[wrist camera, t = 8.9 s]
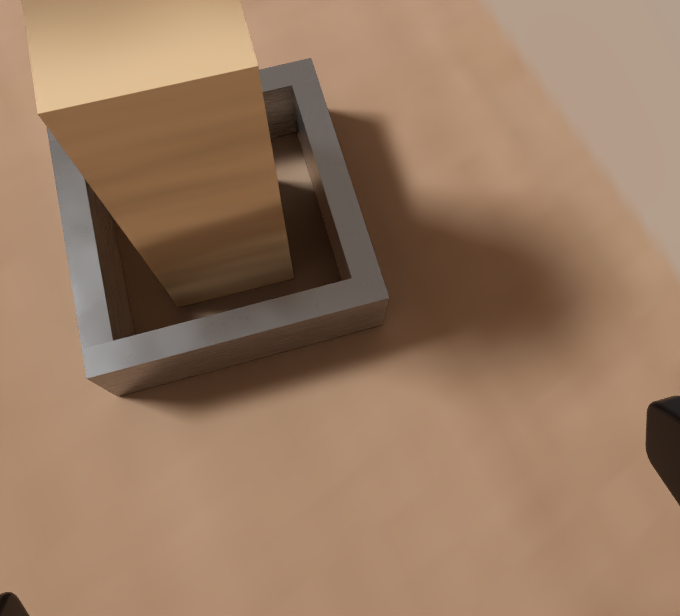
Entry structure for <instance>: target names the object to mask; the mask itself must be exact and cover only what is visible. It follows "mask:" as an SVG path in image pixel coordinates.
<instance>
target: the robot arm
mask: <svg viewBox="0 0 680 616" xmlns="http://www.w3.org/2000/svg"><path fill="white" fill-rule="evenodd" d="M646 452H647V455H648V458H649V460H650V462H651V464H652V466H653V467H654V469H655V470H656V472H657V473H658V474H659V476H660V477H661V479H662V480H663V482H664V483H665V485H666V486H667V488H668V489H669V491H670V492H671V494H672V495H673V497H674V498H675V499H676V501H677V502H678V504H679V505H680V396H671V397H668V398H665V399H661V400H658V401H654V402H652V403H651V404H650V405H649V407H648V409H647V421H646ZM0 616H29V614H28V613H27V611H26V609H25V608H24V606H23V605H22V603H21V601H20V600H19V598H18V597H17V596H16V595H15V594H13V593H11V592H5V593H2V594H0Z"/></svg>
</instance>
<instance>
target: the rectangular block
mask: <svg viewBox="0 0 680 616" xmlns="http://www.w3.org/2000/svg"><path fill="white" fill-rule="evenodd" d="M22 7H23V14H24V21H25V28H26V35H27V42H28V49H29V56H30V63H31V70H32V77H33V84H34V91H35V98H36V105H37V112H38V115H39V116H40V118H41V119H42V120H43V122H44V123H45V125H46V126H47V127H48V129H49V130H50V131H51V133H52V134H53V136H54V137H55V138H56V140H57V141H58V142H59V144H60V145H61V147H62V148H63V149H64V151H65V152H66V153H67V155H68V156H69V158H70V159H71V160H72V162H73V163H74V164H75V166H76V167H77V169H78V170H79V171H80V173H81V174H82V175H83V177H84V178H85V180H86V181H87V182H88V184H89V185H90V186H91V188H92V189H93V191H94V192H95V193H96V195H97V196H98V197H99V199H100V200H101V202H102V203H103V204H104V206H105V207H106V208H107V210H108V211H109V213H110V214H111V215H112V217H113V218H114V219H115V221H116V222H117V224H118V225H119V226H120V228H121V229H122V230H123V232H124V233H125V235H126V236H127V237H128V239H129V240H130V241H131V243H132V244H133V246H134V247H135V248H136V250H137V251H138V252H139V254H140V255H141V257H142V258H143V259H144V261H145V262H146V263H147V265H148V266H149V268H150V269H151V270H152V272H153V273H154V274H155V276H156V277H157V279H158V280H159V281H160V283H161V284H162V285H163V287H164V288H165V290H166V291H167V292H168V294H169V295H170V296H171V298H172V299H173V301H174V302H175V303H176V305H177V306H178V307H182V306H186V305H190V304H194V303H198V302H202V301H206V300H210V299H214V298H218V297H222V296H226V295H230V294H234V293H238V292H242V291H246V290H250V289H254V288H258V287H262V286H266V285H270V284H274V283H278V282H282V281H286V280H290V279H294V274H293V269H292V263H291V257H290V251H289V245H288V239H287V233H286V227H285V221H284V216H283V210H282V204H281V198H280V192H279V186H278V180H277V174H276V168H275V163H274V157H273V151H272V145H271V139H270V133H269V127H268V121H267V115H266V109H265V104H264V98H263V92H262V86H261V80H260V74H259V68H258V64H257V60H256V57H255V53H254V49H253V46H252V42H251V39H250V35H249V32H248V28H247V24H246V21H245V17H244V14H243V10H242V7H241V3H240V0H22Z"/></svg>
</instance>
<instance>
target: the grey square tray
mask: <svg viewBox="0 0 680 616" xmlns="http://www.w3.org/2000/svg"><path fill="white" fill-rule="evenodd" d="M259 74H260V80H261V86H262V92H263V98H264V104H265V109H266V115H267V121H268V127H269V133H270V138H274V137H279V136H283V135H287V134H291V133H295V132H297V135H298V138H299V141H300V145H301V148H302V151H303V154H304V158H305V161H306V164H307V168H308V171H309V174H310V177H311V181H312V184H313V187H314V191H315V194H316V197H317V200H318V204H319V207H320V210H321V214H322V217H323V220H324V223H325V227H326V230H327V233H328V237H329V240H330V243H331V246H332V250H333V253H334V256H335V260H336V263H337V266H338V269H339V273H340V276H341V279H342V281H339V282H336V283H332V284H328V285H324V286H320V287H317V288H313V289H309V290H305V291H301V292H297V293H294V294H290V295H286V296H282V297H278V298H275V299H271V300H267V301H263V302H259V303H256V304H252V305H248V306H244V307H240V308H236V309H233V310H229V311H225V312H221V313H217V314H214V315H210V316H206V317H202V318H198V319H194V320H191V321H187V322H183V323H179V324H175V325H172V326H168V327H164V328H160V329H156V330H153V331H149V332H145V333H141V334H137V335H135V333H134V328H133V322H132V317H131V312H130V306H129V301H128V296H127V290H126V285H125V280H124V274H123V269H122V264H121V258H120V253H119V248H118V242H117V237H116V232H115V226H114V221H113V217H112V215H111V214H110V213H109V211H108V210H107V208H106V207H105V206H104V204H103V203H102V202H101V200H100V199H99V197H98V196H97V195H96V193H95V192H94V191H93V189H92V188H91V186H90V185H89V184H88V182H87V181H86V180H85V178H84V177H83V175H82V174H81V173H80V171H79V170H78V169H77V167H76V166H75V164H74V163H73V162H72V160H71V159H70V158H69V156H68V155H67V153H66V152H65V151H64V149H63V148H62V147H61V145H60V144H59V142H58V141H57V140H56V138H55V137H54V136H53V134H52V133H51V131H50V130H49V129H48V127H47V132H48V138H49V145H50V151H51V157H52V164H53V170H54V176H55V182H56V189H57V195H58V201H59V208H60V214H61V220H62V227H63V233H64V239H65V245H66V252H67V258H68V264H69V271H70V277H71V283H72V290H73V296H74V302H75V308H76V315H77V321H78V327H79V334H80V340H81V346H82V352H83V359H84V365H85V371H86V378H87V379H88V380H90V381H92V382H93V383H95V384H97V385H99V386H100V387H102V388H104V389H105V390H107V391H109V392H111V393H112V394H114V395H116V396H117V397H118V396H121V395H125V394H129V393H132V392H136V391H140V390H144V389H147V388H151V387H155V386H158V385H162V384H166V383H169V382H173V381H177V380H180V379H184V378H188V377H192V376H195V375H199V374H203V373H206V372H210V371H214V370H217V369H221V368H225V367H229V366H232V365H236V364H240V363H243V362H247V361H251V360H254V359H258V358H262V357H266V356H269V355H273V354H277V353H280V352H284V351H288V350H291V349H295V348H299V347H302V346H306V345H310V344H314V343H317V342H321V341H325V340H328V339H332V338H336V337H339V336H343V335H347V334H351V333H354V332H358V331H362V330H365V329H369V328H373V327H376V326H380V325H383V323H384V318H385V314H386V310H387V306H388V302H389V295H388V292H387V289H386V286H385V283H384V280H383V277H382V274H381V271H380V268H379V264H378V261H377V258H376V255H375V252H374V249H373V246H372V243H371V240H370V237H369V234H368V231H367V228H366V225H365V222H364V219H363V215H362V212H361V209H360V206H359V203H358V200H357V197H356V194H355V191H354V188H353V185H352V182H351V179H350V176H349V173H348V170H347V166H346V163H345V160H344V157H343V154H342V151H341V148H340V145H339V142H338V139H337V136H336V133H335V130H334V127H333V124H332V121H331V117H330V114H329V111H328V108H327V105H326V102H325V99H324V96H323V93H322V90H321V87H320V84H319V81H318V78H317V75H316V72H315V68H314V65H313V62H312V59H311V58H309V59H305V60H300V61H296V62H291V63H287V64H283V65H278V66H274V67H269V68H265V69H261V70H259Z"/></svg>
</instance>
